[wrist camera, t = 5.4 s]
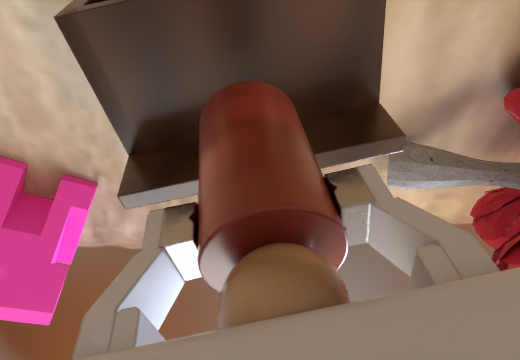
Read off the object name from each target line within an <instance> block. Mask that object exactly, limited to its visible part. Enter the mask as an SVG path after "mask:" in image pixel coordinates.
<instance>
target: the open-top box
mask: <svg viewBox="0 0 520 360" xmlns="http://www.w3.org/2000/svg"><path fill="white" fill-rule="evenodd" d="M385 8H386V0H73V1H72V2H71V3H70V4H69V5H67V6H66V7H65V8H64V9H63V10H62V11H60V12H59V13H58V14H57V15H56V16H55V17H54V19H55V21H56V23H57V24H58V26H59V28H60V30H61V32H62V34H63V35H64V37H65V39H66V41H67V43H68V45H69V46H70V48H71V50H72V52H73V54H74V56H75V58H76V59H77V61H78V63H79V65H80V67H81V69H82V70H83V72H84V74H85V76H86V78H87V80H88V81H89V83H90V85H91V87H92V89H93V91H94V93H95V94H96V96H97V98H98V100H99V102H100V104H101V105H102V107H103V109H104V111H105V113H106V115H107V116H108V118H109V120H110V122H111V124H112V126H113V128H114V129H115V131H116V133H117V135H118V137H119V139H120V140H121V142H122V144H123V146H124V148H125V150H126V151H127V153H128V155H129V157H128V161H127V164H126V167H125V171H124V174H123V178H122V181H121V185H120V188H119V192H118V195H117V197H118V198H119V200H120V202H121V203H122V205H123V206H124V208H125V209H131V208H136V207H141V206H146V205H150V204H155V203H160V202H165V201H169V200H174V199H179V198H184V197H188V196H193V195H198V185H199V122H200V116H201V113H202V111H203V109H204V107H205V105H206V103H207V102H208V101H209V99H210V98H211V97H212V96H213V95H214V94H216V93H217V92H218V91H219V90H221V89H223V88H225V87H226V86H229V85H231V84H234V83H238V82H243V81H259V82H264V83H268V84H270V85H273V86H275V87H277V88H279V89H280V90H281V91H283V92H284V93H285V94H286V95H287V96H288V97H289V98H290V100H291V101H292V103H293V105H294V107H295V109H296V112H297V114H298V117H299V119H300V121H301V124H302V126H303V129H304V131H305V133H306V136H307V138H308V141H309V143H310V146H311V148H312V150H313V153H314V155H315V158H316V160H317V162H318V165H319V167H320V169H321V168H326V167H330V166H335V165H340V164H345V163H349V162H354V161H359V160H364V159H368V158H373V157H378V156H382V155H387V154H392V153H397V152H401V151H403V150H404V144H405V137H406V135H405V134H404V132H403V131H402V130H401V129H400V128H399V126H398V125H397V124H396V123H395V121H394V120H393V119H392V118H391V116H390V115H389V114H388V113H387V111H386V110H385V109H384V108H383V107H382V105H381V104H380V103H379V94H380V80H381V65H382V51H383V36H384V22H385Z"/></svg>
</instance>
